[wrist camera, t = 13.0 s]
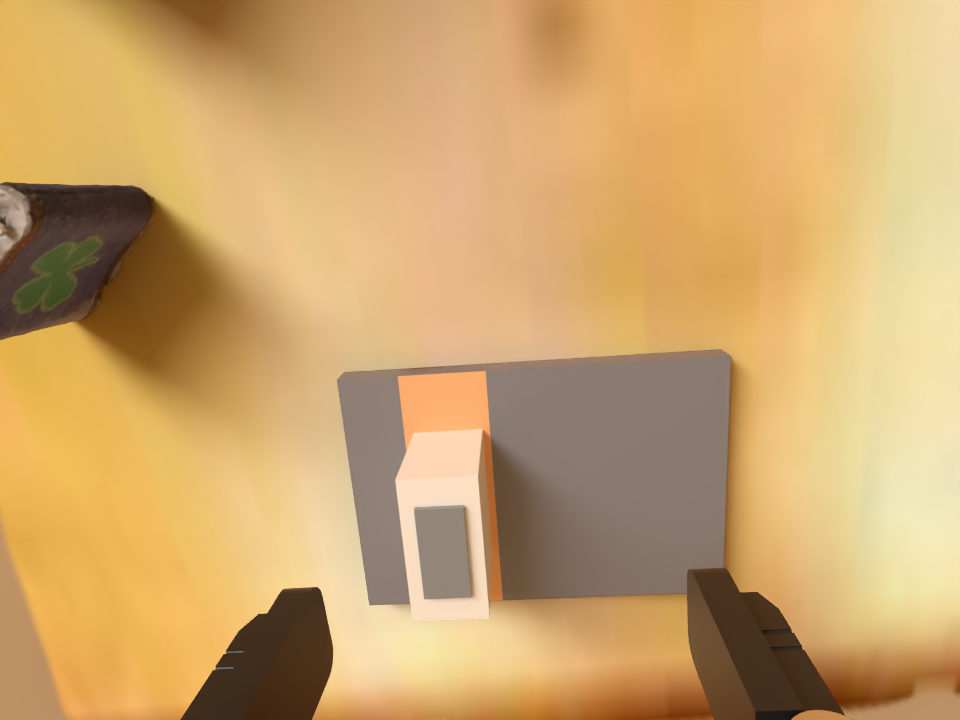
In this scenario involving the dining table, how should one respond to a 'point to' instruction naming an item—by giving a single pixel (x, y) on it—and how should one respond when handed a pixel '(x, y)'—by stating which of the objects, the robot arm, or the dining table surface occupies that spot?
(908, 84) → the dining table surface
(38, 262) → the flask
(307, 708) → the robot arm
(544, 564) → the board
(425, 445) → the block
